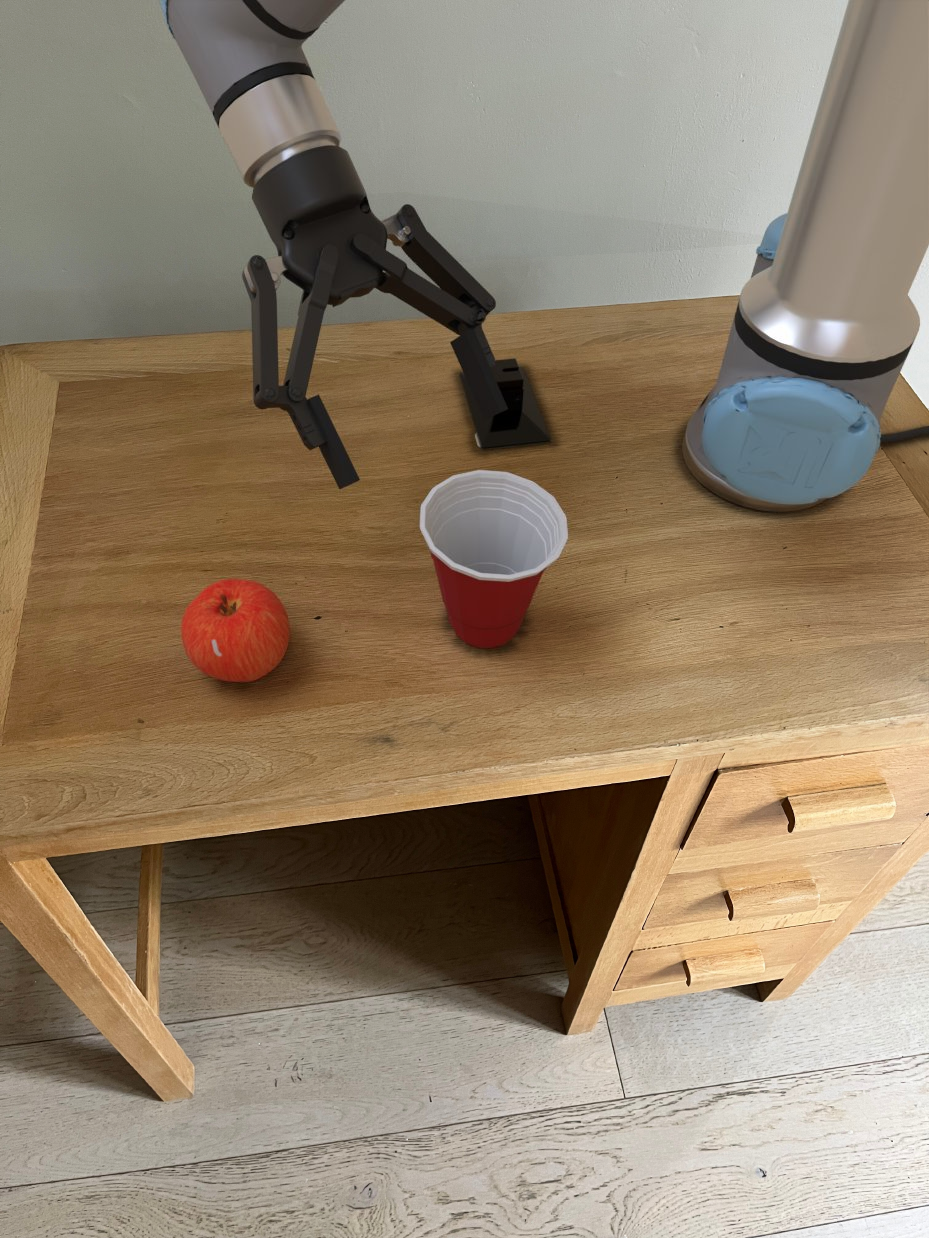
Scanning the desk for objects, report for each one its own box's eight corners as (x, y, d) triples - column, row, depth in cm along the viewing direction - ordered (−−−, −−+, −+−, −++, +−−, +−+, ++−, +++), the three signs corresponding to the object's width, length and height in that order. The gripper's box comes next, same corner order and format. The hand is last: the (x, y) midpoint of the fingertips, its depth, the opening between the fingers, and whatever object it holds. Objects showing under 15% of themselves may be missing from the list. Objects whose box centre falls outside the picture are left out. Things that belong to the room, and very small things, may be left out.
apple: (279, 708, 65) (261, 645, 59) (178, 691, 66) (149, 627, 60) (309, 627, 70) (295, 560, 64) (214, 612, 71) (192, 545, 65)
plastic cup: (543, 686, 67) (559, 585, 57) (408, 662, 68) (402, 560, 59) (561, 583, 73) (578, 478, 64) (438, 563, 75) (437, 457, 65)
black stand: (551, 443, 85) (555, 405, 81) (478, 451, 84) (480, 413, 80) (522, 368, 93) (525, 330, 89) (456, 375, 92) (456, 337, 88)
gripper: (419, 150, 68) (527, 399, 73) (123, 242, 59) (268, 523, 63) (461, 99, 62) (576, 376, 66) (134, 193, 52) (295, 512, 56)
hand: (426, 448), depth 65 cm, fingers open, 13 cm apart
